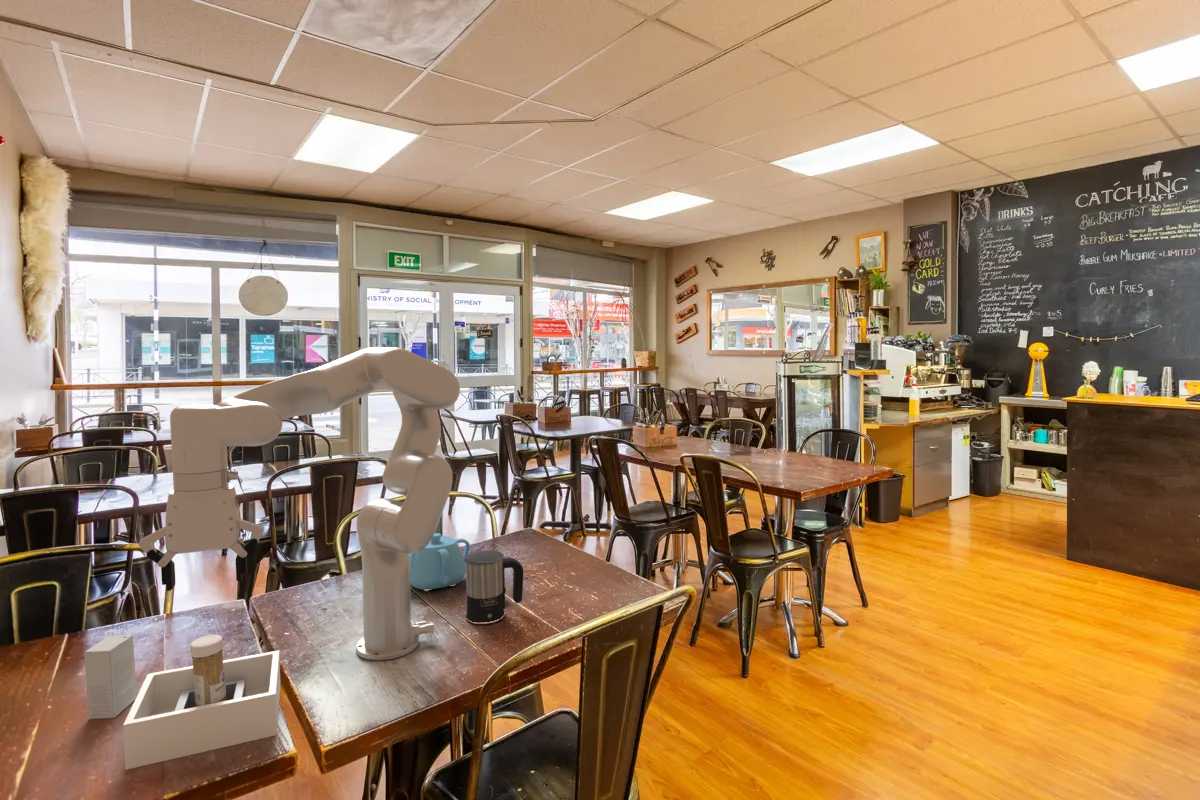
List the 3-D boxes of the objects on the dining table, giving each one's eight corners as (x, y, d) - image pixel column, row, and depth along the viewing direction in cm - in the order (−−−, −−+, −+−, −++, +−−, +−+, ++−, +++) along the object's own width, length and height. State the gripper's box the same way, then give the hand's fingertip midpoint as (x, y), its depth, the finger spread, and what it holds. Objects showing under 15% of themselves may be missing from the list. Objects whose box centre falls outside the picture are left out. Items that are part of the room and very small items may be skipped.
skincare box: (112, 699, 110) (108, 635, 109) (137, 699, 110) (134, 634, 110) (87, 720, 104) (83, 651, 103) (113, 719, 104) (110, 650, 103)
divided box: (280, 686, 115) (279, 650, 114) (277, 734, 100) (275, 693, 100) (149, 712, 106) (147, 673, 106) (125, 769, 92) (123, 725, 91)
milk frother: (477, 630, 139) (476, 565, 138) (444, 607, 151) (443, 548, 150) (529, 612, 148) (529, 552, 147) (494, 593, 160) (494, 537, 159)
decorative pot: (429, 570, 177) (428, 523, 176) (477, 577, 171) (477, 529, 170) (391, 590, 162) (390, 539, 160) (443, 599, 156) (442, 546, 155)
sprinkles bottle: (228, 719, 103) (222, 641, 101) (195, 728, 100) (189, 649, 99) (227, 705, 107) (222, 631, 105) (196, 714, 104) (190, 638, 103)
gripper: (263, 472, 107) (267, 568, 109) (141, 481, 100) (147, 583, 101) (260, 480, 100) (264, 583, 102) (129, 490, 93) (136, 600, 94)
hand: (206, 583), depth 102 cm, fingers open, 9 cm apart
